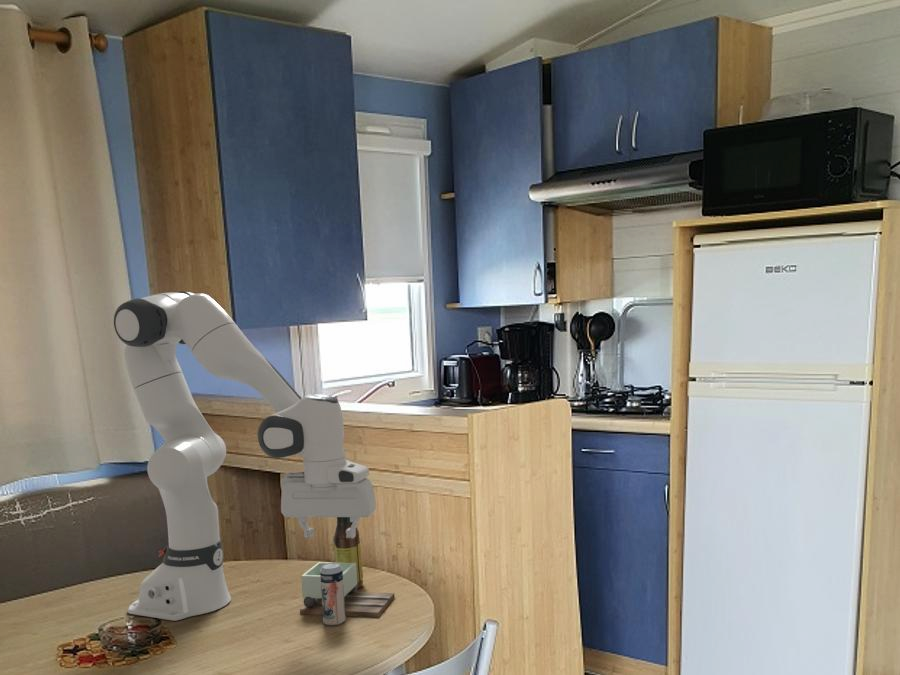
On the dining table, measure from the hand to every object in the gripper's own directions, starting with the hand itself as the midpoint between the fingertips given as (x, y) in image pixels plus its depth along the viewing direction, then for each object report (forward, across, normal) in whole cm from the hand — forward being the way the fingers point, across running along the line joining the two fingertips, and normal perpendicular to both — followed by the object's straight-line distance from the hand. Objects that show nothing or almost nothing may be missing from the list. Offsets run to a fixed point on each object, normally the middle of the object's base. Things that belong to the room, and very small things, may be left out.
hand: (330, 537), depth 155 cm
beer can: (+18, 0, 0) cm, 18 cm away
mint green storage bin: (+17, -5, +9) cm, 20 cm away
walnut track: (+18, -1, +9) cm, 20 cm away
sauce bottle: (+18, -5, +20) cm, 27 cm away
